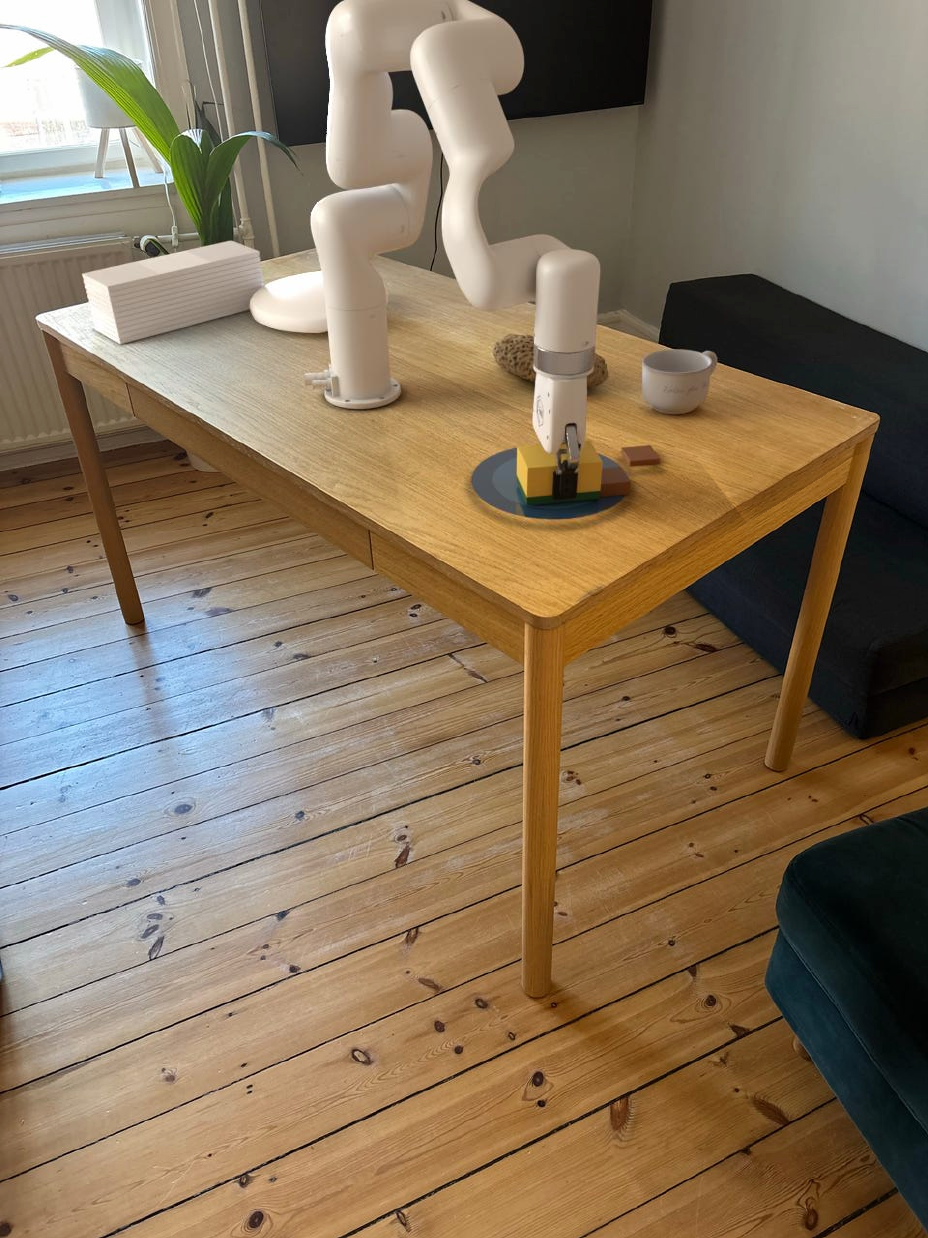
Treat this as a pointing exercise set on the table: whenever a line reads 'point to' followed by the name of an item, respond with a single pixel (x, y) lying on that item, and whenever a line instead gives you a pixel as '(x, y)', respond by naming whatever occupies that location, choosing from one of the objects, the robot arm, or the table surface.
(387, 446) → the table surface
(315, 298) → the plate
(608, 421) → the table surface
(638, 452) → the block
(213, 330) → the table surface
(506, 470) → the side plate
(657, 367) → the teacup
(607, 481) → the block
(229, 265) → the white long rectangular block
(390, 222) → the robot arm
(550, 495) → the scrub sponge
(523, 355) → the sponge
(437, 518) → the table surface
